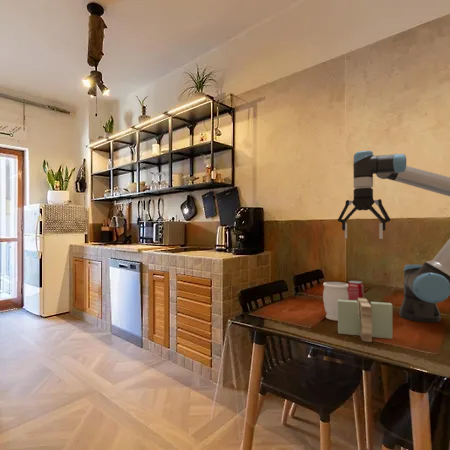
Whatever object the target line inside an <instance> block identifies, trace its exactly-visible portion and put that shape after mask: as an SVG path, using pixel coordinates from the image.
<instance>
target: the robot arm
mask: <svg viewBox="0 0 450 450" xmlns="http://www.w3.org/2000/svg"><path fill="white" fill-rule="evenodd" d="M352 166H353V169H352V170H353V200H349V199H347V200H345V205H344V207H343V208H342V211H341V213H340V214H339V217H338V218H337V221H338V223H339V222H340V223H341V230H342V231H344V239H348V222H347V221H348V220H349V218H351V216H352V215H353V214H354V213H355V212H356V211H370V212H371V213H372V214H373V215H374V216H375V217H376V218H377V219H378V220H379V221H380V222H379V223H378V224H379V225H378V226H379V227H378V228H379V229H378V231H379V232H378V233H379V236H378V237H379V239H381V240H383V238H384V235H383V234H384V233H383V232H384V231H386V223H388V222H391V218H390V216H389V214H388V212H387V211H386V209H385V207H384V206H383V201H382V199H381V198H379V199H374V189H373V187H374V174H375V175H376V177H378V178H379V179H381V180H386V179H387V180H390V181H392V182H398V183H401V184H404V185H408V186H412V187H414V188H418V189H421V190H425V191H429V192H433V193H436V194H440V195H443V196H447V197H450V176H447V175H443V174H438V173H435V172H432V171H427V170H424V169H420V168H416V167H412V166H408V165H407V156H406V154H404V153H393V154H392V153H391V154H383V155H382V154H381V155H374V153H373V151H372V150H361V151H357V152H355V153H354V154H353V165H352ZM351 204H352V205H353V206H354V207H353V208H352V210H351V211H349V213H348V214H347V215H346V216H345V217H344V215H345V213H346V211H347V210H348V208H349V206H351ZM374 204H375V205H376V206H377V207H378V208H379V210H380V212H381V214H382V215H383V216H382V215H381V214H380V213H379V212H378V211H377V210H376V208H374V207H373V205H374ZM402 271H403V299H402V303H401V305H400V308H399V316H400V317H401V318H403V319H405V320H409V321H414V322H421V323H430V324H431V323H433V324H434V323H439V322H441V320H442V319H441V317H442V314H441V312H440V310H439V307H438V305H437V304H438V303H443V302H444V301H445V300H447V299H448V298H449V297H450V238H449V239H448V240H447V241H446V242H445V244H444V245H443V246H442V247H441V249H440V250H439V251H438V253H436V254H435V256H434V258H432V259H431V260H426V261H425V262H423V264H405V265H404V267H403V270H402Z"/></svg>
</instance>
